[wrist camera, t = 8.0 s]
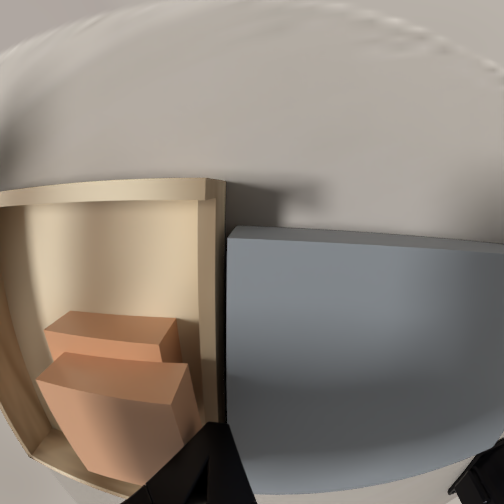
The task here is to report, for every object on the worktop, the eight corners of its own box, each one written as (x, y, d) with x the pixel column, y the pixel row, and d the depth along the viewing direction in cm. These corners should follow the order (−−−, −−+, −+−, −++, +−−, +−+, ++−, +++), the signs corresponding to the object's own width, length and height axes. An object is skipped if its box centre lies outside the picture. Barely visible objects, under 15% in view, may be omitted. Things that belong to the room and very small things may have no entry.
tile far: (176, 317, 10) (158, 344, 8) (192, 415, 11) (183, 446, 9) (70, 310, 11) (43, 329, 9) (98, 400, 12) (81, 425, 10)
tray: (226, 181, 10) (205, 178, 6) (226, 470, 13) (220, 518, 10) (-4, 194, 10) (-54, 201, 7) (53, 425, 13) (29, 457, 10)
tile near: (187, 363, 8) (170, 404, 6) (210, 457, 10) (203, 495, 8) (64, 351, 9) (35, 379, 7) (105, 441, 10) (88, 470, 8)
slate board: (540, 248, 9) (571, 259, 7) (477, 424, 12) (493, 446, 10) (236, 225, 10) (227, 237, 8) (233, 456, 13) (229, 492, 10)
